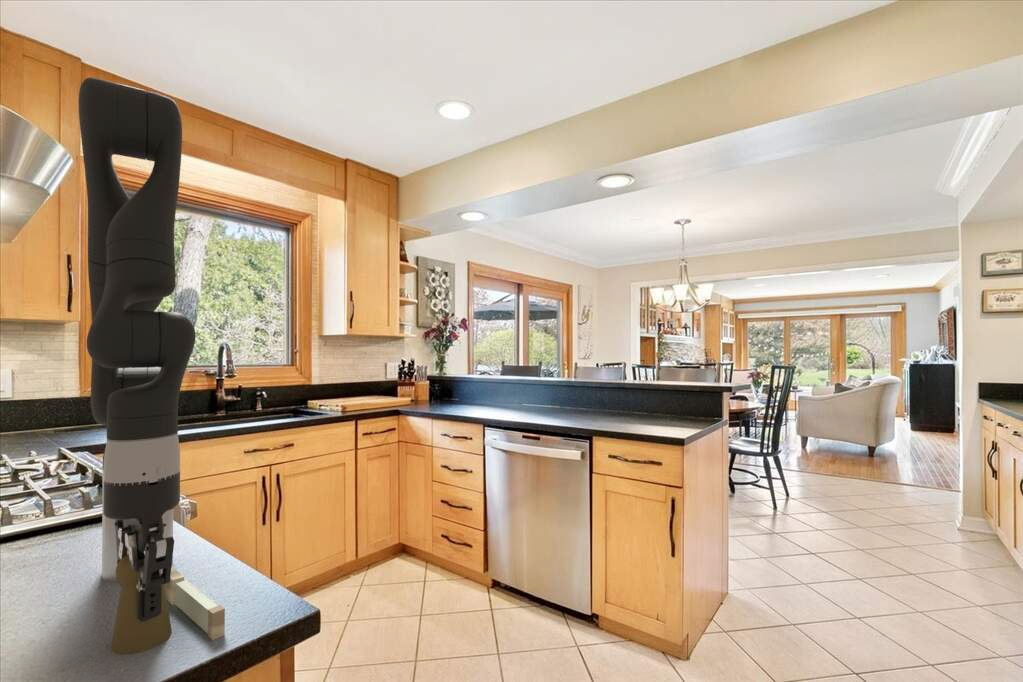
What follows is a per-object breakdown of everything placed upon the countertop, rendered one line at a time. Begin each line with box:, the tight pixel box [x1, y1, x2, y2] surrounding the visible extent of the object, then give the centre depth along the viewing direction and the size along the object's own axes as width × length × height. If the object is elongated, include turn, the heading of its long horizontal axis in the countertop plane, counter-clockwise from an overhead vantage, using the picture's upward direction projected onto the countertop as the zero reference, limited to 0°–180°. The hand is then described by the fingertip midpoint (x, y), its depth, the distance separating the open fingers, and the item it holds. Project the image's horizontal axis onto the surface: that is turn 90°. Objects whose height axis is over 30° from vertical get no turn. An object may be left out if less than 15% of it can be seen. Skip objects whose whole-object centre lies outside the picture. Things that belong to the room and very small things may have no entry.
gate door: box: [175, 579, 219, 635], centre depth 64 cm, size 11×1×3 cm, turn 52°
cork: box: [110, 554, 173, 655], centre depth 59 cm, size 6×6×11 cm
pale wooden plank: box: [164, 566, 226, 641], centre depth 65 cm, size 18×1×4 cm, turn 52°
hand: (142, 609), depth 59 cm, fingers closed on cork, 4 cm apart
